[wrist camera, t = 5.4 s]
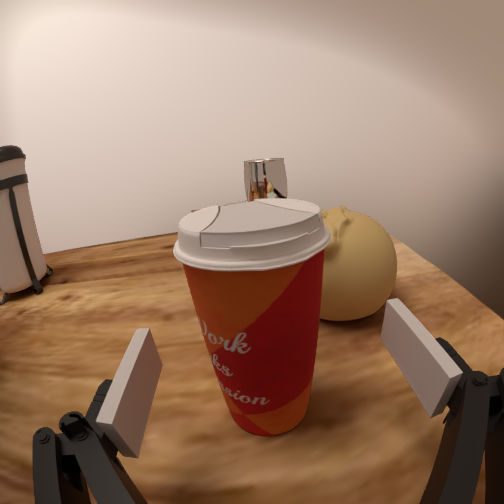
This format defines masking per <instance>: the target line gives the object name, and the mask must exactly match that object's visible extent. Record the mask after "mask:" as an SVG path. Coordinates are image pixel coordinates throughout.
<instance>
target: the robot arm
mask: <svg viewBox="0 0 504 504" xmlns="http://www.w3.org/2000/svg"><path fill="white" fill-rule="evenodd" d="M380 339H381V341H382V342H383V344H384V345H385V347H386V348H387V350H388V351H389V353H390V354H391V356H392V357H393V359H394V360H395V362H396V364H397V365H398V367H399V368H400V370H401V371H402V373H403V375H404V376H405V378H406V379H407V381H408V383H409V384H410V386H411V387H412V389H413V391H414V392H415V394H416V396H417V397H418V399H419V401H420V402H421V404H422V406H423V407H424V409H425V411H426V412H427V414H428V416H429V417H430V418H432V417H434V416H436V415H439V414H441V413H443V411H444V409H445V407H446V406H448V407H449V409H450V410H449V412H448V414H447V416H446V417H445V419H444V421H443V424H444V423H445V422H446V424H445V428H444V432H443V436H442V440H441V444H440V447H439V451H438V454H437V457H436V460H435V464H434V467H433V470H432V472H431V475H430V478H429V481H428V483H427V486H426V489H425V491H424V494H423V496H422V499H421V501H420V503H419V504H471V503H472V500H473V497H474V493H475V489H476V486H477V482H478V477H479V473H480V469H481V464H482V459H483V453H484V449H485V470H486V491H485V504H504V368H503V369H502V370H501V372H500V374H499V375H495V376H489V377H488V376H487V375H486V374H485V373H483V372H480V371H472V369H471V368H470V367H469V366H468V365H467V363H466V362H465V361H464V360H463V359H462V358H461V356H460V355H459V354H457V352H456V351H455V349H453V347H452V346H451V345H450V344H449V343H448V342H447V341H445V340H444V339H442V338H440V337H439V338H436V339H435V338H434V337H433V336H432V335H431V334H430V333H429V332H428V330H427V329H426V328H425V327H424V326H423V325H422V324H421V323H420V322H419V320H418V319H417V318H416V317H415V316H414V315H413V314H412V313H411V312H410V310H409V309H408V308H407V307H406V306H405V305H404V304H403V303H402V302H401V301H400V300H399V299H398V298H395V299H390V300H387V301H386V308H385V314H384V321H383V327H382V332H381V338H380ZM162 366H163V365H162V362H161V359H160V357H159V354H158V351H157V348H156V346H155V343H154V340H153V337H152V334H151V331H150V328H139V329H137V330H136V332H135V334H134V336H133V338H132V340H131V342H130V344H129V346H128V348H127V351H126V353H125V355H124V357H123V359H122V361H121V364H120V366H119V368H118V370H117V372H116V375H115V377H114V379H113V380H108V379H106V380H105V381H104V382H103V383H102V384H101V385H100V386H99V387H98V389H97V392H96V395H95V396H94V398H93V402H92V403H91V405H90V407H89V409H88V411H87V414H86V416H85V417H84V416H83V415H82V414H81V413H79V412H74V411H73V412H69V413H67V414H65V415H64V416H63V417H62V418H61V419H60V422H59V428H60V430H61V431H62V432H63V433H61V434H55V433H54V431H53V430H52V429H50V428H48V427H43V428H40V429H39V430H37V431H36V433H35V434H34V436H33V482H34V495H35V504H91V502H90V497H89V493H88V488H87V483H88V486H89V488H90V490H91V492H92V494H93V496H94V497H95V499H96V501H97V503H98V504H148V503H147V502H146V500H145V499H144V498H143V496H142V495H141V493H140V492H139V491H138V489H137V488H136V486H135V485H134V483H133V482H132V480H131V479H130V477H129V475H128V474H127V472H126V471H125V469H124V467H123V466H122V464H121V462H120V461H119V459H118V458H117V457H116V455H117V452H118V451H119V452H120V453H121V454H122V455H123V456H125V457H132V458H138V457H139V453H140V448H141V444H142V440H143V436H144V432H145V428H146V424H147V420H148V416H149V413H150V409H151V405H152V401H153V398H154V394H155V391H156V387H157V383H158V380H159V376H160V373H161V369H162ZM86 481H87V483H86Z"/></svg>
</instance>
